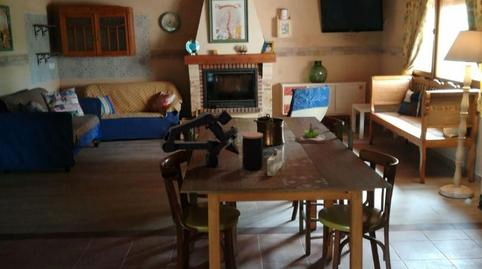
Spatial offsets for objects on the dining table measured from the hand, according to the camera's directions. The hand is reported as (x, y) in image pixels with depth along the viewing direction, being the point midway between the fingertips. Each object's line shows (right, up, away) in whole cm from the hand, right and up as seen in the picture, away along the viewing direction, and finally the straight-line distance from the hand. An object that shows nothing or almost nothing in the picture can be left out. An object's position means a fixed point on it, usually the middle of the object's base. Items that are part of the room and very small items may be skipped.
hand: (238, 153), depth 244 cm
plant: (+47, +6, +60) cm, 76 cm away
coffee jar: (+7, -8, -1) cm, 11 cm away
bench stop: (+19, -8, -5) cm, 21 cm away
